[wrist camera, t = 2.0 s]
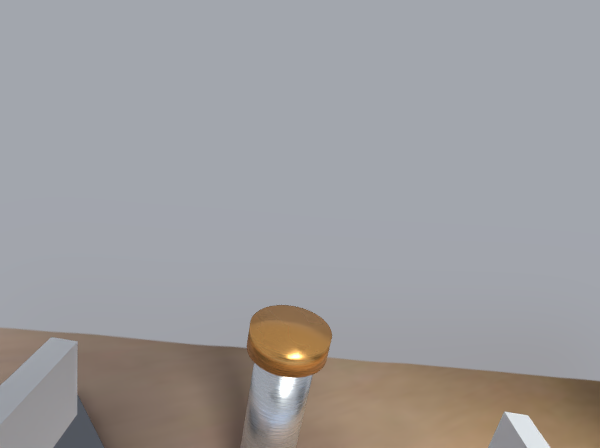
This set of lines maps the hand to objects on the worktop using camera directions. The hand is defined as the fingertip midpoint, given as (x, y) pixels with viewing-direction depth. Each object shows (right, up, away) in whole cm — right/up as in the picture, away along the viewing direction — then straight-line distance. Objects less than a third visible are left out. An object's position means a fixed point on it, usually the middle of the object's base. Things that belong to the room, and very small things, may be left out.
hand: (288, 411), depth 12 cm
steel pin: (-2, -12, +15) cm, 19 cm away
